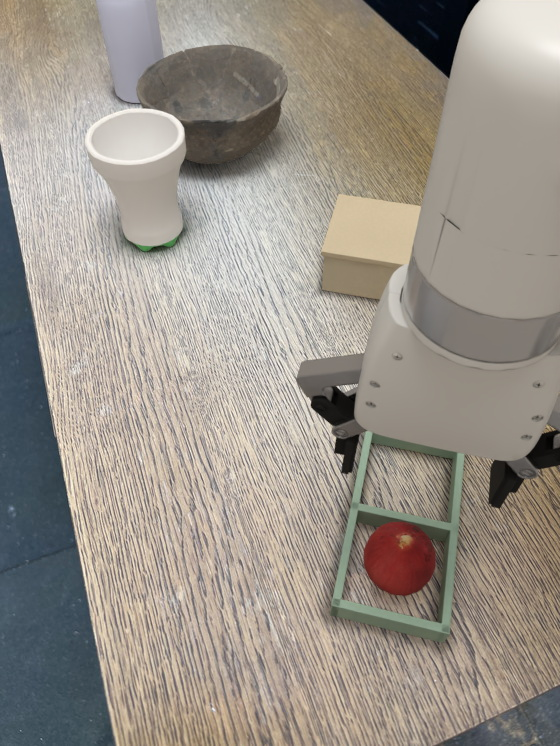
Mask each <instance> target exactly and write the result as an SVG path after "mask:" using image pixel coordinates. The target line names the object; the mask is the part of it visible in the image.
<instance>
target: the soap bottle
mask: <svg viewBox="0 0 560 746" xmlns="http://www.w3.org/2000/svg"><path fill="white" fill-rule="evenodd" d="M94 1H95V5H96V10H97V15H98V18H99V23H100V28H101V33H102V39H103V42H104V46H105V50H106V51H105V52H106V56H107V61H108V64H109V70H110V75H111V79H112V84H113V88H114V92H115V94H116V97H118V98H119V99H120V100H122V101H124V102H126V103H131V104H141V103H140V101H139V99H138V97H137V92H136V87H137V83H138V80H139V78H140V77H141V75H142V74H143V72H144V71H145V70H146V68H147V67H149V66H150V65H152V64H154V63H156V62H157V61H159V60H161V59H163V58H165V54H164V47H163V41H162V34H161V27H160V21H159V14H158V8H157V0H94Z"/></svg>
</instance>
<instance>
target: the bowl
mask: <svg viewBox="0 0 560 746" xmlns="http://www.w3.org/2000/svg"><path fill="white" fill-rule="evenodd" d="M288 81H289V80H288V76H287V75H286V70H284V67H283V66H282V64H280V63H279V62H277V60H275V59H274V58H273V57H272V56H271V55H268V54H266V53H264V52H262V51H259V50H256V49H254V48H250V47H246V46H242V45H241V46H240V45H235V44H225V43H224V44H212V45H203V46H196V47H193V48H185V49H184V51H183V50H179V51H177V52H175V53H171V54H169V55H167V56H164V58H163V59H161V60H159V61H157V62H156V63H154V64H152V65H150V66H149V67H147V68H146V70H145V71H144V72H143V74H142V75H141V77H140V78H139V80H138V83H137V87H136V92H137V97H138V99H139V101H140V103H139V104H140V105H141V107H142V108H143V109H154V110H159V111H163V112H166V113H168V114H171V115H173V116H174V117H175V118H177V119H178V120H179V121H180V122H181V124H182V126H183V127H184V134H185V143H186V154H185V158H184V160H187V161H189V162H193V163H195V164H196V163H197V164H201V165H220V164H221V165H222V164H226V163H230V162H232V161H235V160H238V159H240V158H243V157H244V156H246V155H248V154H250V153H251V152H253V151H254V150H255V149H256V148H258V147H259V146H260V145H261V144H263V143H265V141H266V140H267V139H268V138H269V137H270V136H271V134H272V133H273V132H274V130H275V129H277V126H278V124H279V121H280V118H281V115H282V111H281V110H282V101H283V100H284V98H285V96H286V93H287V91H288V85H289V82H288Z"/></svg>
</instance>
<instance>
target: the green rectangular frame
mask: <svg viewBox="0 0 560 746" xmlns="http://www.w3.org/2000/svg"><path fill="white" fill-rule="evenodd" d="M364 433H365V434H364V436H363V442H362V447H361V452H360V456H359V463H358V467H357V472H356V477H355V481H354V482H355V483H354V488H353V493H352V497H351V502H350V508H349V513H348V518H347V524H346V528H345V534H344V538H343V543H342V549H341V554H340V559H339V562H338V569H337V574H336V579H335V583H334V584H335V585H334V589H333V594H332V599H331V604H330V609H329V616H331V617H336V618H340V619H344V620H348V621H352V622H356V623H361V624H365V625H368V626H371V627H372V626H373V627H376V628H380V629H385V630H388V631H393V632H395V633H396V632H397V633H401V634H405V635H409V636H412V637H416V638H421V639H424V640H429V641H434V642H437V643H441V644H444V643H445V642H446V640H447V639H448V637H449V636H450V634H451V624H452V623H451V622H452V611H453V601H454V588H455V574H456V564H457V553H458V540H459V530H460V529H459V528H460V518H461V517H460V515H461V506H462V505H461V504H462V493H463V482H464V469H465V458H466V457H465V456H466V454H462V453H457V452H453V451H448V450H443V449H438V448H434V447H429V446H425V445H420V444H416V443H411V442H407V441H402V440H398V439H394V438H389V437H385V436H381V435H378V434H375V433H372V432H370V431H366V432H364ZM371 444H376V445H381V446H386V447H391V448H395V449H400V450H405V451H409V452H415V453H419V454H425V455H429V456H434V457H440V458H444V459H449V460H450V459H451V460H452V463H451V473H450V482H449V493H448V503H447V515H446V521H443V520H439V519H433V518H428V517H423V516H420V515H414V514H409V513H405V512H401V511H396V510H391V509H388V508H384V507H379V506H373V505H370V504H369V505H368V504H364V503H360V502H361V497H362V492H363V487H364V481H365V476H366V472H367V471H366V470H367V465H368V460H369V455H370V449H371ZM389 522H407V523H410V524H413V525H416V526H418V527H419V528H420V529H421V530H422V531H423V532H424V533H426V534H427V535H428V536H429V538H430V540H433V541H437V542H443V543H444V546H443V556H442V565H441V575H440V576H441V577H440V585H439V586H440V587H439V596H438V597H439V598H438V608H437V609H438V610H437V617H436V621H433V620H429V619H425V618H421V617H417V616H412V615H409V614H404V613H400V612H396V611H392V610H387V609H384V608H380V607H375V606H371V605H367V604H362V603H360V602H359V603H358V602H355V601H351V600H346V599H343V593H344V587H345V582H346V577H347V571H348V568H349V567H348V566H349V562H350V561H349V560H350V556H351V552H352V551H351V550H352V545H353V539H354V534H355V530H356V524H362V525H366V526H371V527H375V528H378V527H380V526H381V525H384V524H387V523H389Z"/></svg>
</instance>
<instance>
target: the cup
mask: <svg viewBox="0 0 560 746" xmlns="http://www.w3.org/2000/svg"><path fill="white" fill-rule="evenodd" d="M84 147H85V150H86V153H87V156H88V159H89V160H88V161H89V162H90V164H91V166H92V168H93V169H94V171H96V173H97V174H98V175H99V176H100V177H102V178H103V180H104V182H105V183H106V184H107V186H108V188H109V190H110V191H111V192H112V195H113V196H114V198H115V201H116V203H117V207H118V209H119V212H120V225H121V229H122V232H123V235H124V238H125V239H126V240H127V241H129V242H130V243H132V244H134V245H135V246H136V247H138V249H140V250H141V251H142V252H148V251H149V252H150V251H151V250H152V249H153V248H155V247H159V246H164V247H167V248H170V247H173V246H175V244H176V241H177V239H178V238H179V236H180V234H181V232H182V231H183V229H184V220H183V214H182V213H183V212H182V210H181V208H180V205H179V201H178V184H179V183H178V182H179V177H180V170H181V167H182V164H183V162H184V161H185V154H186V143H185V134H184V127H183V126H182V124H181V122H180V121H179V120H178V119H177V118H175V117H174V116H173V115H171V114H168V113H166V112H163V111H159V110H154V109H143V108H140V107H138V108H127V109H126V108H125V109H123V110H118V111H115V112H113V113H110V114H107V115H104V117H102V118H100V119H98V120H97V121H96V122H94V123H93V124H92V125H91V126H90V127H89V128H88V129H87V131H86V133H85V135H84Z"/></svg>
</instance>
